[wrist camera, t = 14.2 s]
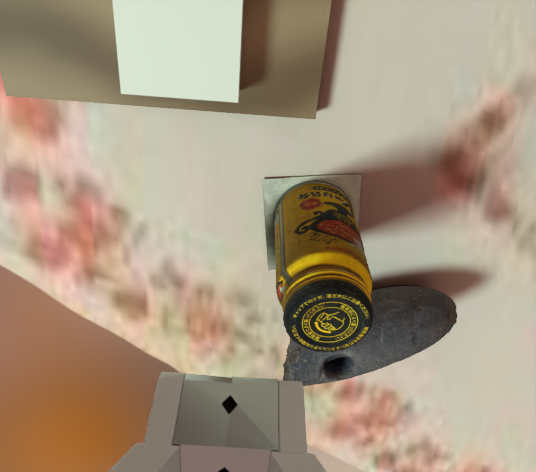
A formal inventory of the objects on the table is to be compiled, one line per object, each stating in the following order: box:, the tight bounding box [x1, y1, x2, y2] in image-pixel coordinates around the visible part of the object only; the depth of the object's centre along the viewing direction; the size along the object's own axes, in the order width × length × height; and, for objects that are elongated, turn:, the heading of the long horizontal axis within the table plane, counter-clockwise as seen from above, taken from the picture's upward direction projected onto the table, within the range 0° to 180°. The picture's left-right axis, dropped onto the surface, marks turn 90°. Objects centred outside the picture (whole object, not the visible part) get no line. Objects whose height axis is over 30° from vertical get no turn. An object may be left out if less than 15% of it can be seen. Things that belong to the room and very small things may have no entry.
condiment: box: [262, 174, 374, 352], centre depth 34 cm, size 7×8×12 cm
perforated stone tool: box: [283, 286, 457, 386], centre depth 41 cm, size 15×5×7 cm, turn 107°
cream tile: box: [112, 0, 244, 103], centre depth 29 cm, size 7×2×7 cm
